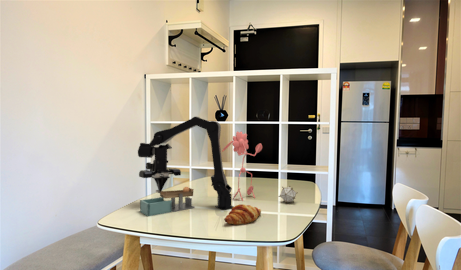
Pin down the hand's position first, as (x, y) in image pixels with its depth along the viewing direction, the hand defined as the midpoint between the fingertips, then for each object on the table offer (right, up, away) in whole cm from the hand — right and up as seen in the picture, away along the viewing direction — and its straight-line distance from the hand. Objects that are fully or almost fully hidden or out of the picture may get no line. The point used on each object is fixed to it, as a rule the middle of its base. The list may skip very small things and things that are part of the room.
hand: (160, 191), depth 140 cm
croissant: (+39, -8, -22) cm, 45 cm away
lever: (+6, -1, -1) cm, 6 cm away
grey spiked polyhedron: (+62, -7, +7) cm, 62 cm away
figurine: (+38, -7, +18) cm, 42 cm away
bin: (+1, -7, -11) cm, 13 cm away
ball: (+13, +1, -2) cm, 13 cm away
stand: (+10, -7, -4) cm, 13 cm away
